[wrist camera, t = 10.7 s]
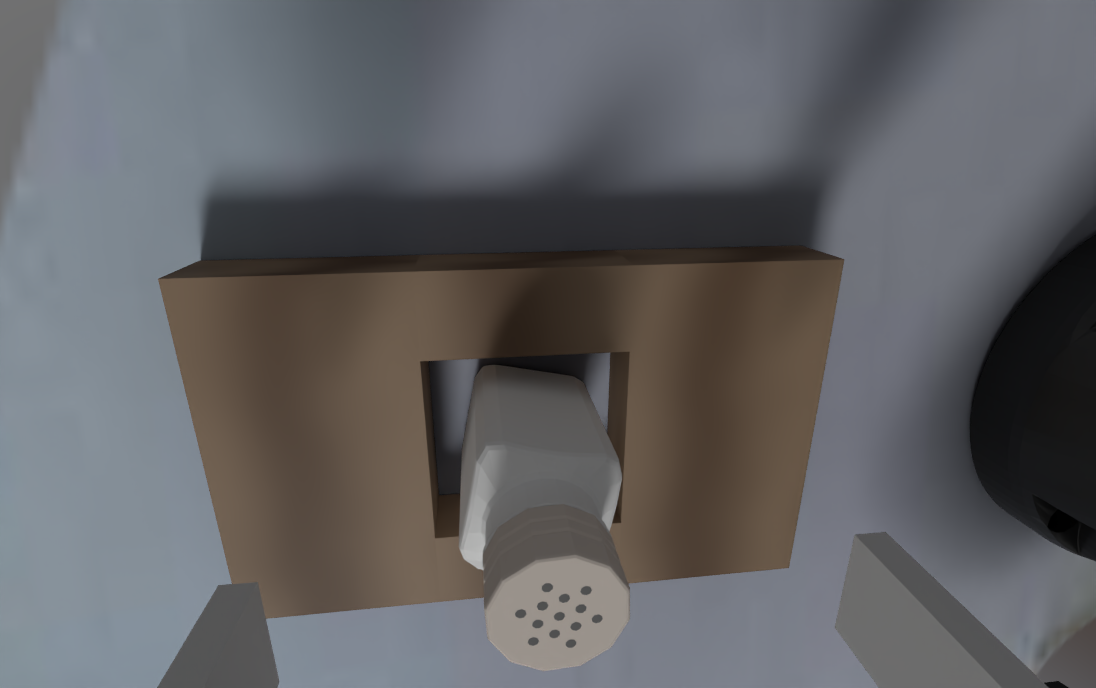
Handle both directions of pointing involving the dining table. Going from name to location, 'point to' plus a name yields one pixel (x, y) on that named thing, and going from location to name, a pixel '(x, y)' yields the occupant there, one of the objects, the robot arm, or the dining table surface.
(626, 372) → the spice block
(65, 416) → the dining table surface
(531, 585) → the pepper shaker
